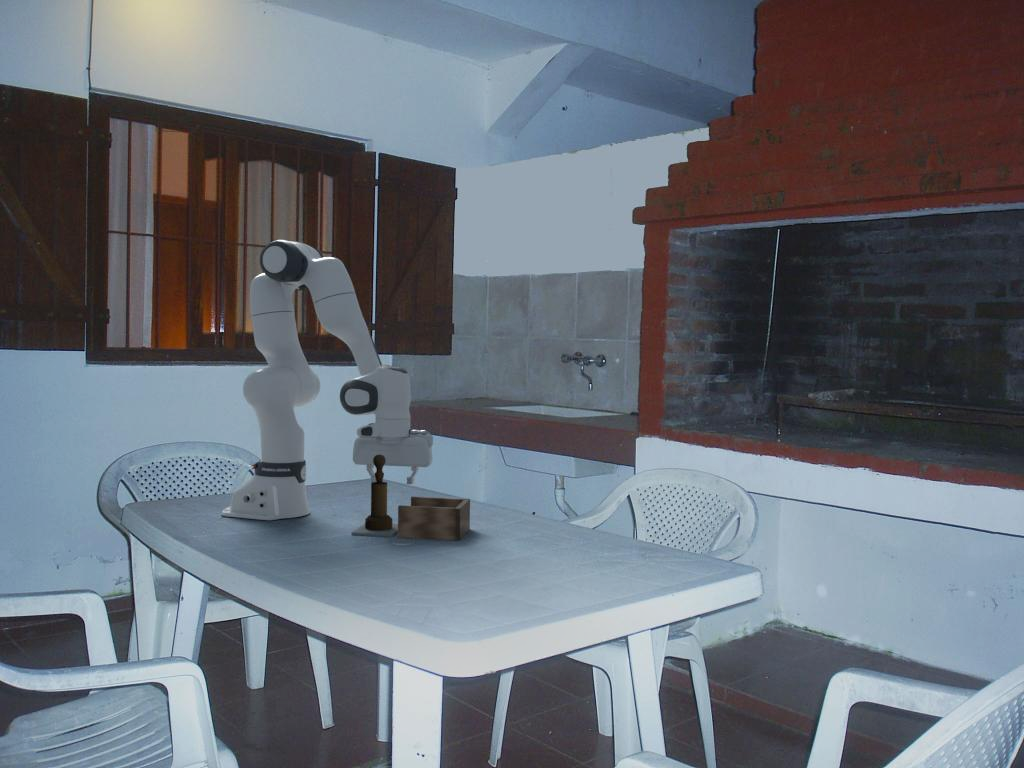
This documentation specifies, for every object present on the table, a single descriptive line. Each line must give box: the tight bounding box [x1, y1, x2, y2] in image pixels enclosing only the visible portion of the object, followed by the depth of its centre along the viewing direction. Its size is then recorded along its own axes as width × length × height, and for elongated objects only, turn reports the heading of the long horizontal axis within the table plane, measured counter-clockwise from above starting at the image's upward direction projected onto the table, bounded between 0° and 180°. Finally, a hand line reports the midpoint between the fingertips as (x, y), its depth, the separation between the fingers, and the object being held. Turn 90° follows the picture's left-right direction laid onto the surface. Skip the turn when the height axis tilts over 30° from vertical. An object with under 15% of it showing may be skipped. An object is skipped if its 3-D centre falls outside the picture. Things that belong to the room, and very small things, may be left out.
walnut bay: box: [397, 496, 471, 541], centre depth 214 cm, size 15×13×8 cm
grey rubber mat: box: [351, 522, 398, 538], centre depth 216 cm, size 10×12×1 cm
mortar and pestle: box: [364, 455, 393, 530], centre depth 216 cm, size 7×6×18 cm
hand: (392, 483), depth 225 cm, fingers open, 8 cm apart
